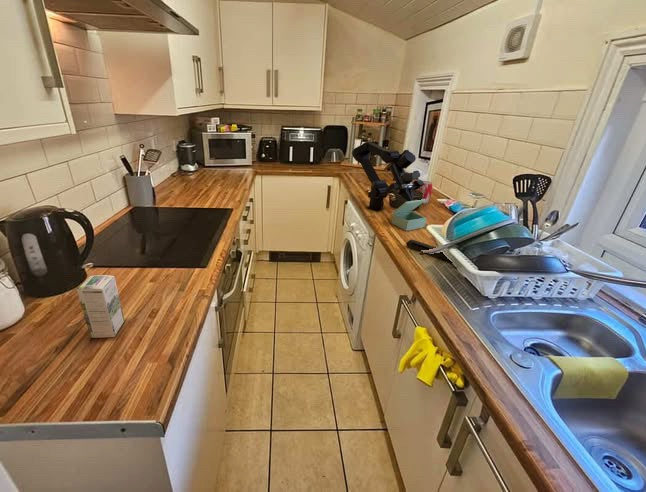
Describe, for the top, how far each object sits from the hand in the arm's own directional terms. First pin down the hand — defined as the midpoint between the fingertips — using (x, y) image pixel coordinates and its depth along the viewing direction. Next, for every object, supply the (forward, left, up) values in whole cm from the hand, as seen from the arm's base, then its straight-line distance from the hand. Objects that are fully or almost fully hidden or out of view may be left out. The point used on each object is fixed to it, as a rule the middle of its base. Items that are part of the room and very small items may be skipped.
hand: (412, 202), depth 138 cm
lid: (-1, 0, -2) cm, 3 cm away
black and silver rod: (+18, -21, -11) cm, 30 cm away
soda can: (-8, +39, -11) cm, 42 cm away
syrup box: (-25, -121, -11) cm, 124 cm away
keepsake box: (0, 0, -11) cm, 11 cm away
